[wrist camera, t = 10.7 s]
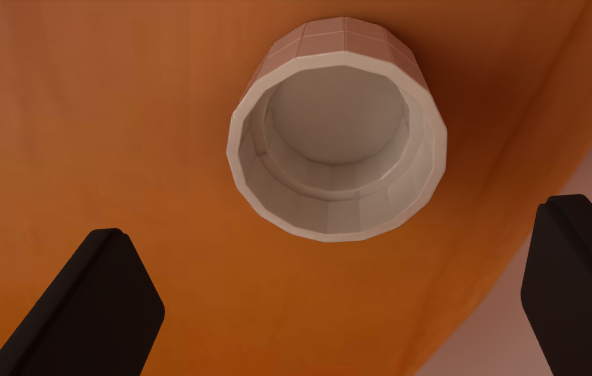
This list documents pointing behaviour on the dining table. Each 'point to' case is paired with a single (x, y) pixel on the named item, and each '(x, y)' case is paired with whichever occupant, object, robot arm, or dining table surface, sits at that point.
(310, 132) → the small bowl
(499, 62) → the dining table surface
